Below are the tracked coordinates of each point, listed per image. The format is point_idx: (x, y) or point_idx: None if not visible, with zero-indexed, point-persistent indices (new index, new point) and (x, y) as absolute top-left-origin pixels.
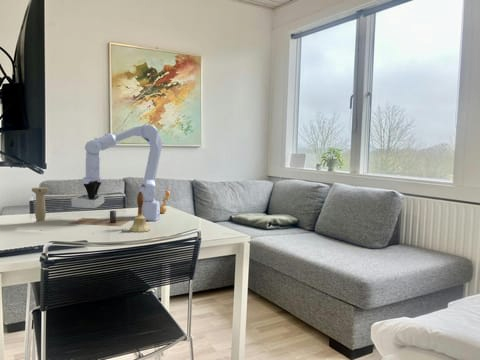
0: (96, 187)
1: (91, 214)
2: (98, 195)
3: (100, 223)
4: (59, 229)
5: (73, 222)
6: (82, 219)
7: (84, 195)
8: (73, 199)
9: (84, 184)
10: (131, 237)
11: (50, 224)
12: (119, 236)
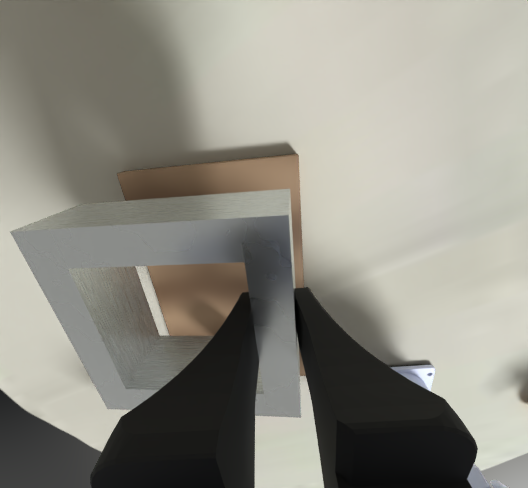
0: (319, 445)
1: (501, 102)
2: (263, 388)
3: (197, 308)
4: (34, 177)
5: (153, 183)
6: (249, 184)
7: (246, 262)
8: (28, 251)
9: (107, 449)
10: (101, 431)
11: (95, 32)
12: (91, 406)
